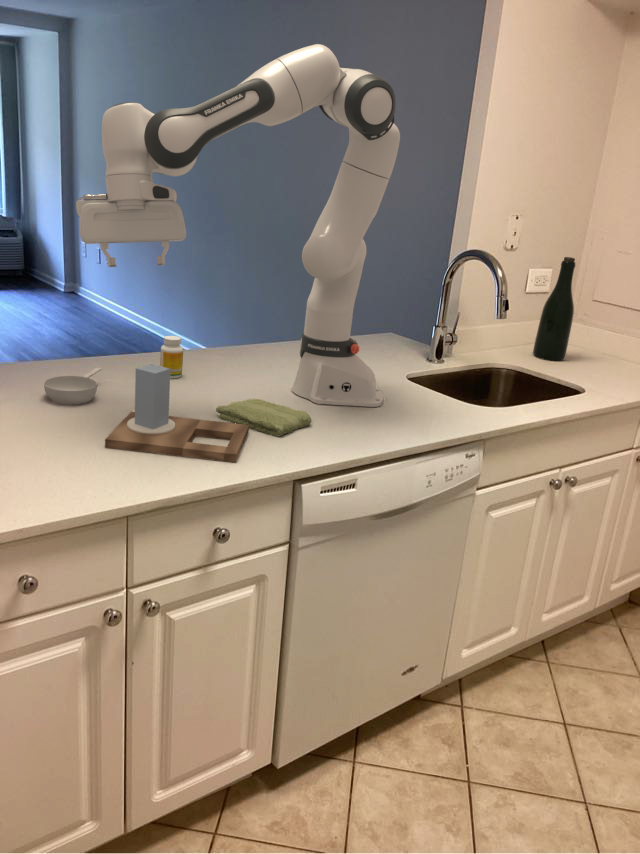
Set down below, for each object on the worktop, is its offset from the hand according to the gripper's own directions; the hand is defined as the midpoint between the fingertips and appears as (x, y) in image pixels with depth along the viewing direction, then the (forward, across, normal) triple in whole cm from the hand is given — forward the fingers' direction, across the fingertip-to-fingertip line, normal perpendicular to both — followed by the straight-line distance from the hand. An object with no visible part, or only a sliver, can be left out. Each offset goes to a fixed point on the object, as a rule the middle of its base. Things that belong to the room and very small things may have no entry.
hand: (137, 266), depth 144 cm
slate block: (+30, +1, -10) cm, 32 cm away
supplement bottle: (+26, +4, +30) cm, 40 cm away
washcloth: (+34, +23, +1) cm, 41 cm away
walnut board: (+33, +6, -12) cm, 36 cm away
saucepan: (+26, -16, +14) cm, 34 cm away
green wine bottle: (+32, +126, +75) cm, 150 cm away
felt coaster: (+31, +1, -10) cm, 32 cm away
